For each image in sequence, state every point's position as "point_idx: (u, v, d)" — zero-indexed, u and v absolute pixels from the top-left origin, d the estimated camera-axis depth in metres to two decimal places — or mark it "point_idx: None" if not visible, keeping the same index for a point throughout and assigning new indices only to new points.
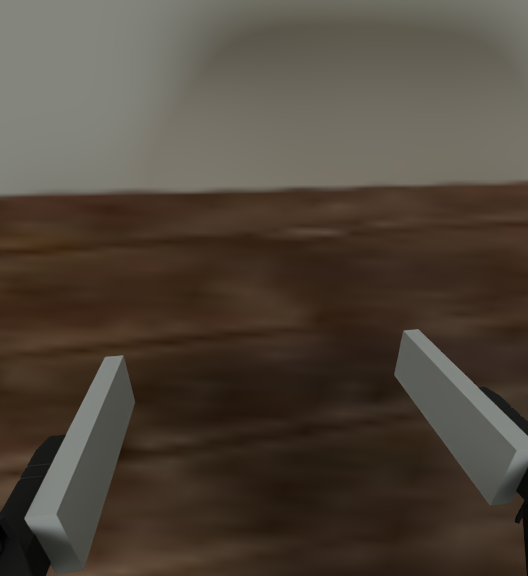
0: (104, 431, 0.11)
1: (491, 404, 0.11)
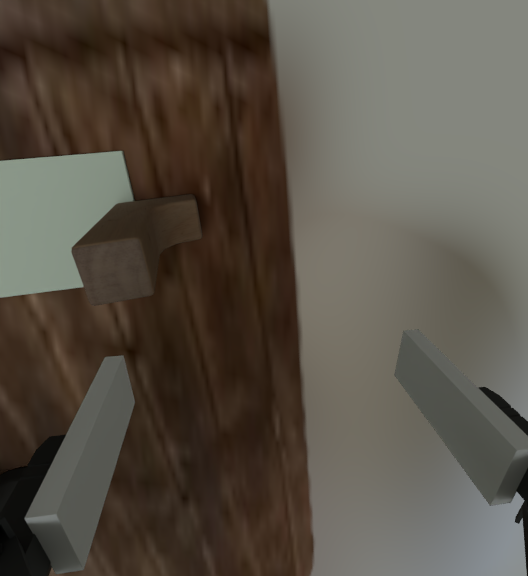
0: (104, 431, 0.11)
1: (491, 404, 0.11)
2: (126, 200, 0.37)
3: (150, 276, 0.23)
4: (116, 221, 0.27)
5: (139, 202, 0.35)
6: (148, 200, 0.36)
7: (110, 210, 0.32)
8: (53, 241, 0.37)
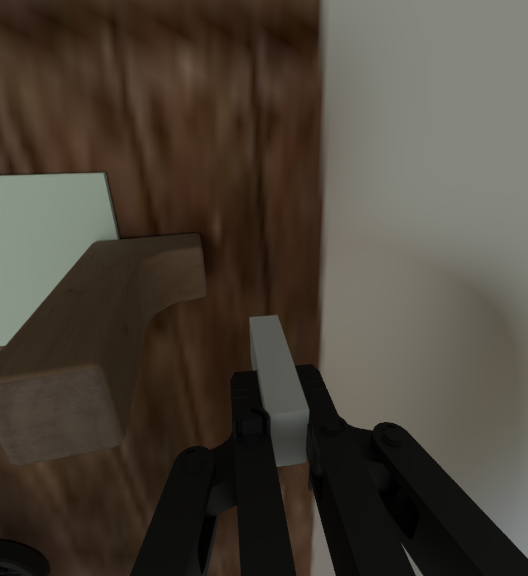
0: None
1: (297, 377, 0.13)
2: (108, 237, 0.27)
3: (118, 417, 0.14)
4: (78, 296, 0.18)
5: (124, 244, 0.26)
6: (137, 240, 0.27)
7: (80, 260, 0.23)
8: (7, 285, 0.28)
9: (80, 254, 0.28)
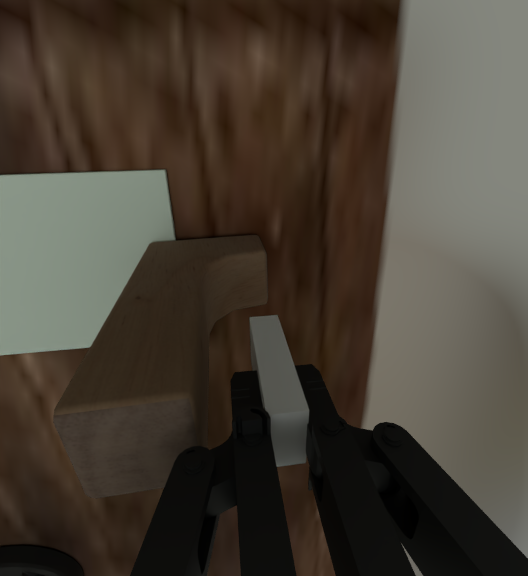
0: None
1: (297, 377, 0.13)
2: (164, 238, 0.26)
3: None
4: (148, 305, 0.16)
5: (183, 245, 0.25)
6: (195, 242, 0.25)
7: (141, 262, 0.22)
8: (59, 288, 0.27)
9: (135, 256, 0.26)
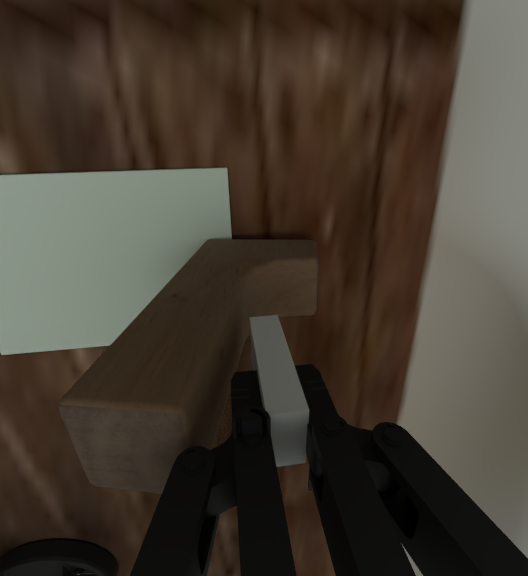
0: None
1: (297, 377, 0.13)
2: (222, 235, 0.27)
3: None
4: (180, 305, 0.16)
5: (236, 245, 0.24)
6: (249, 243, 0.25)
7: (191, 259, 0.22)
8: (117, 284, 0.27)
9: (192, 252, 0.27)
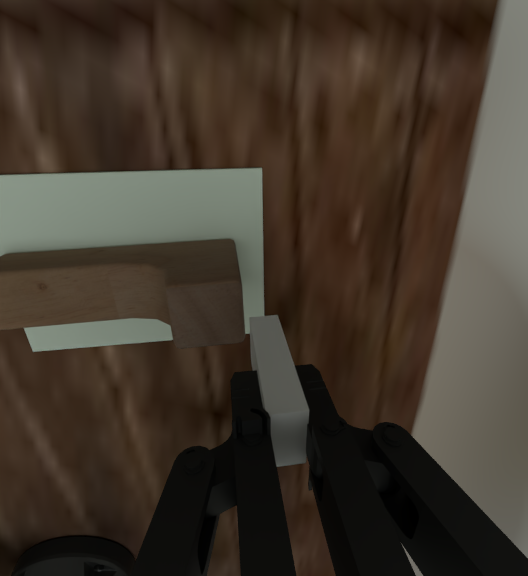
0: None
1: (297, 376, 0.13)
2: (254, 234, 0.27)
3: None
4: (83, 254, 0.24)
5: (210, 250, 0.24)
6: (219, 253, 0.23)
7: (174, 242, 0.26)
8: None
9: None
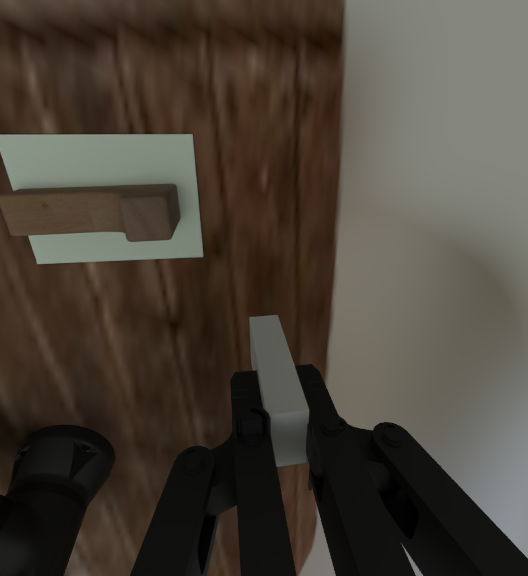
0: None
1: (297, 377, 0.13)
2: (190, 181, 0.39)
3: (8, 223, 0.35)
4: (72, 189, 0.36)
5: (156, 187, 0.36)
6: (160, 188, 0.36)
7: None
8: None
9: None
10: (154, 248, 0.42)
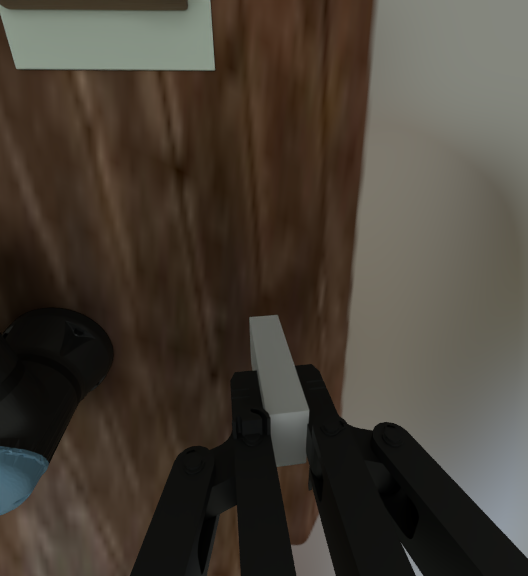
0: None
1: (297, 376, 0.13)
2: None
3: None
4: None
5: None
6: None
7: None
8: None
9: None
10: (156, 53, 0.35)
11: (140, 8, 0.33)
